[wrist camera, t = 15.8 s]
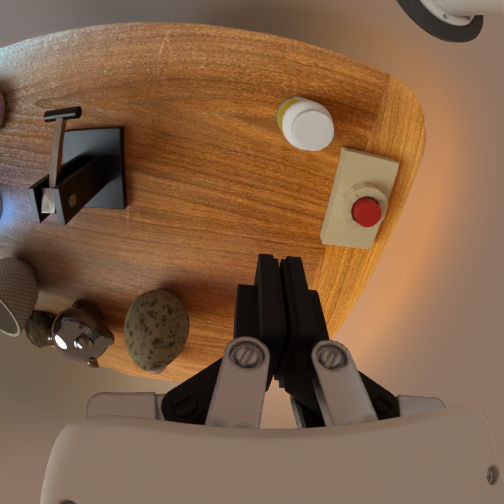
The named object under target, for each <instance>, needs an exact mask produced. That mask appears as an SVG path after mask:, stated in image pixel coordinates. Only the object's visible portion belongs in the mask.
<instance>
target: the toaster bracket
mask: <svg viewBox="0 0 504 504" xmlns="http://www.w3.org/2000/svg"><path fill="white" fill-rule="evenodd" d="M63 157H64V164H63V165H62V166H61V175H60V183H59V184H58V185H56V186H55V187H54V188H52V192H53V197H54V203H55V208H56V213H57V217H58V222H59V225H66V224H67V223H68V222H69V221H70V220H71V219H72V218H73V217H74V216H75V215H76V214H77V213H78V212H79V211H80V210H81V209H82V208H83V207H94V208H111V209H125V208H126V207H127V197H126V184H125V166H124V127H101V128H86V129H74V130H65V135H64V143H63ZM49 176H50V173H49V174H48V175H46V176H45V177H43V178H42V179H41V180H39V181H38V182H36V183H35V184H34V185H32V186H31V187H29V188H28V194H29V198H30V203H31V208H32V212H33V216H34V220H35V223H41V222H42V221H43V220H44V219H45V218H47V217H48V216H49V215H50V214H51V213H42V188H49Z"/></svg>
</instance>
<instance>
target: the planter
mask: <svg viewBox="0 0 504 504" xmlns="http://www.w3.org/2000/svg"><path fill="white" fill-rule="evenodd" d="M37 299H38V286H37V282H36V276H35V273H34V271H33V269H32V268H31V267H30V265H29V264H28V263H26V262H25V261H23V260H21V259H15V258H10V257H9V258H3V259H1V260H0V331H2V332H3V333H5V334H7V335H9V336H13V337H16V336H19V335H20V334H21V332H22V331H23V329H24V327H25V325H26V323H27V321H28V319H29V317H30V315H31V313H32V311H33V309H34V307H35V304H36V302H37Z"/></svg>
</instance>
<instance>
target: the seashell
mask: <svg viewBox="0 0 504 504" xmlns="http://www.w3.org/2000/svg"><path fill="white" fill-rule="evenodd" d="M53 321H54V318H53V316H52V315H51V314H50V313H43V312H36V311H32V313H31V315H30V317H29V319H28V321H27V323H26V325H25V327H24V330H25V333H26V335H27V337H28V338H29V340H30V341H31V342H32V343H33V344H34V345H36V346H37V347H43V346H49V345H54V344H53V342H50V341H49V340H48V338H47V337H48V334H49V332H50V331H51V327H52V324H53Z"/></svg>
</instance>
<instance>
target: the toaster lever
mask: <svg viewBox="0 0 504 504" xmlns="http://www.w3.org/2000/svg"><path fill="white" fill-rule="evenodd" d="M81 114H82V109H81V107H80V106H76V107H69V108H62V109H56V110H50V111H46V112H45V114H44V121H45V122H53V121H56V122H55V128H54V135H53V143H52V152H51V162H50V176H49V188H42V213H56V208H55V203H54V197H53V192H52V188H54V187H55V186H56V185H58V184H59V183H60V175H61V162H62V152H63V143H64V135H65V128H66V121H67V120H68V119H77V118H80V117H81Z"/></svg>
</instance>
